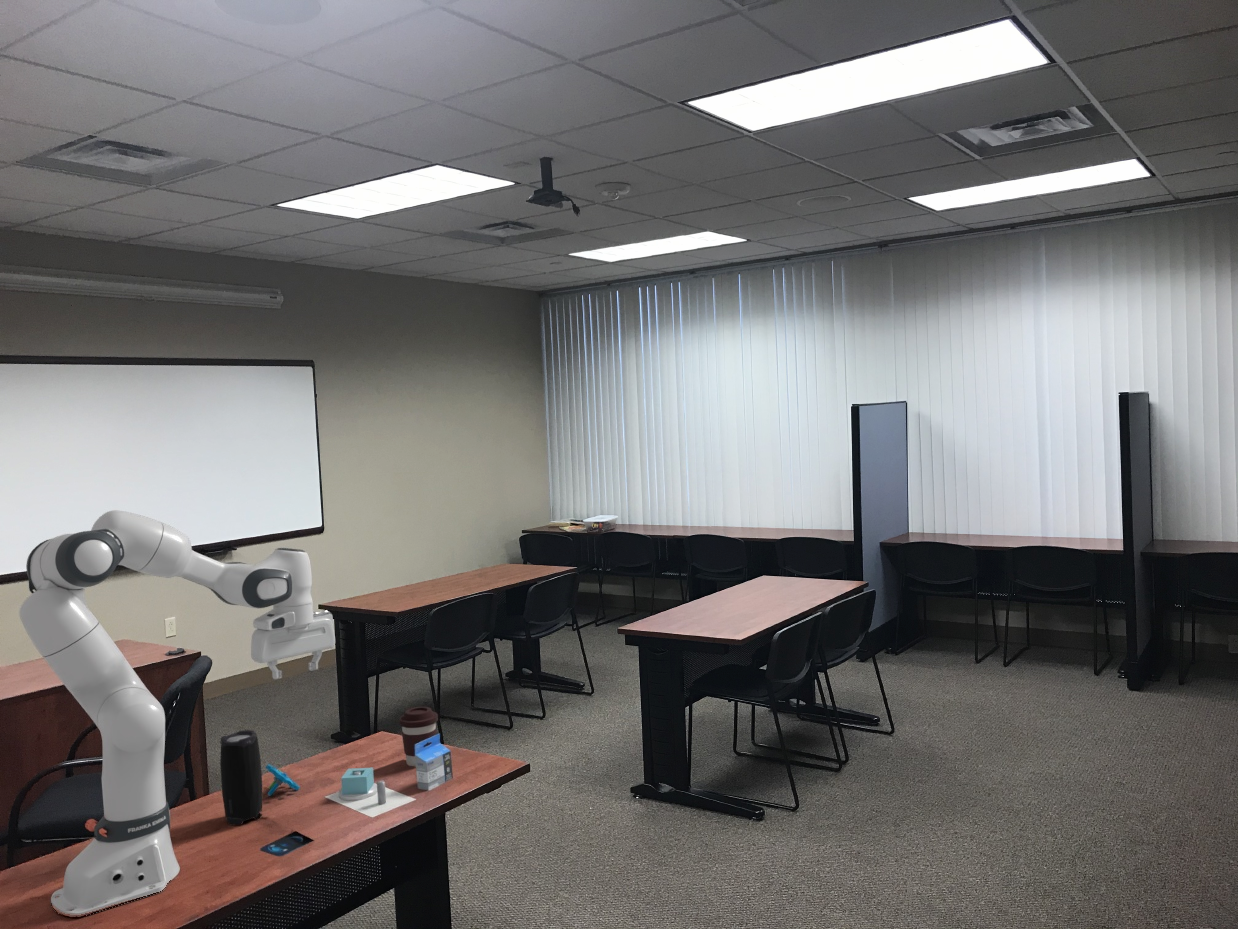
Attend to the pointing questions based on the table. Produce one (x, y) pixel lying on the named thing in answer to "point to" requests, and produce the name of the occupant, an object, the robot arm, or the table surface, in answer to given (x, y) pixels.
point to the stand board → (372, 799)
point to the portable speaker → (241, 776)
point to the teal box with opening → (357, 781)
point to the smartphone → (286, 844)
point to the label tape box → (432, 763)
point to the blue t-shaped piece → (279, 780)
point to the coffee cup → (417, 729)
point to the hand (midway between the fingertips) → (295, 674)
